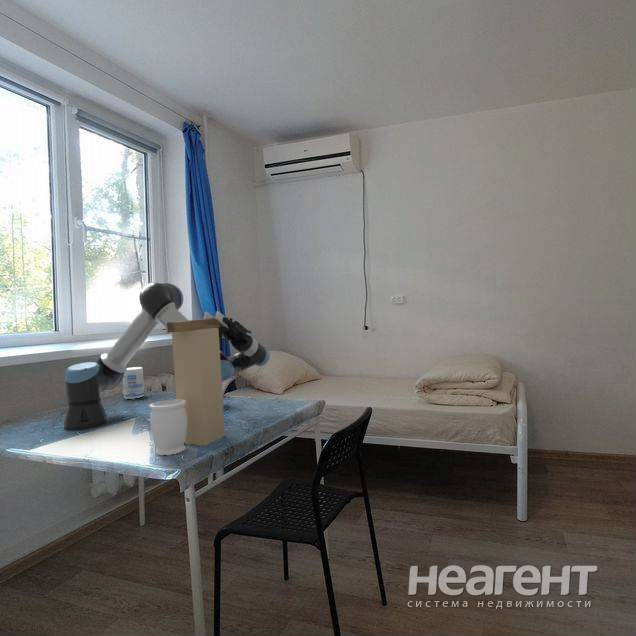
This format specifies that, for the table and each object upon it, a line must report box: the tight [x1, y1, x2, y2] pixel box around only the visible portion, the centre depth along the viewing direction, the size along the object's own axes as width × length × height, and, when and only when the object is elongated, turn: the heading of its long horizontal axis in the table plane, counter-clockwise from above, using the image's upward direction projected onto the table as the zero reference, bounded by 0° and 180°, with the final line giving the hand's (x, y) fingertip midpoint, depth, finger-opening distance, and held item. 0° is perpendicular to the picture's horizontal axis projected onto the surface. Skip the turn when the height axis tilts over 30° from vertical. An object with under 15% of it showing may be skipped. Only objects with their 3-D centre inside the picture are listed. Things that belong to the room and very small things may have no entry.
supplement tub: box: [122, 366, 145, 400], centre depth 234 cm, size 10×10×15 cm
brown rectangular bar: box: [166, 316, 229, 333], centre depth 156 cm, size 4×27×3 cm, turn 157°
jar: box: [148, 398, 187, 456], centre depth 144 cm, size 11×10×15 cm
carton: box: [171, 328, 226, 446], centre depth 155 cm, size 10×11×36 cm
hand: (210, 315), depth 162 cm, fingers closed on brown rectangular bar, 4 cm apart
